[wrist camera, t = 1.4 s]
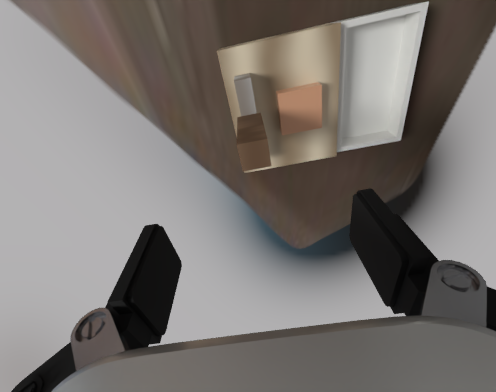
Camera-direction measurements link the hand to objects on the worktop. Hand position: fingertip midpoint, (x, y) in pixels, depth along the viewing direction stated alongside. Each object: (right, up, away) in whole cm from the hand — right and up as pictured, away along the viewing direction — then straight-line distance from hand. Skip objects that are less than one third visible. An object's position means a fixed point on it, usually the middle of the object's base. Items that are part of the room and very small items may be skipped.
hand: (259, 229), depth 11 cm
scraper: (0, +11, +15) cm, 19 cm away
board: (+3, +14, +18) cm, 23 cm away
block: (+5, +12, +15) cm, 19 cm away
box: (+14, +15, +17) cm, 27 cm away
